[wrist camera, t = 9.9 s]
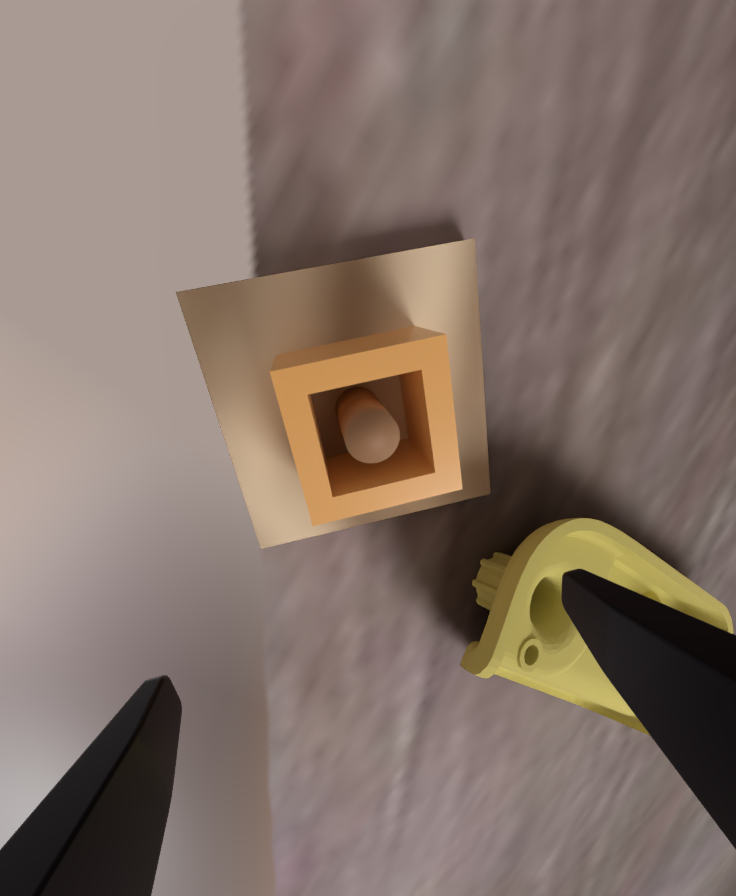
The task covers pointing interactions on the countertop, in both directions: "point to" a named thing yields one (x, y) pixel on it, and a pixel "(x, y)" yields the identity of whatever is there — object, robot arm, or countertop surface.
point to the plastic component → (548, 625)
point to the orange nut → (416, 458)
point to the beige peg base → (346, 408)
